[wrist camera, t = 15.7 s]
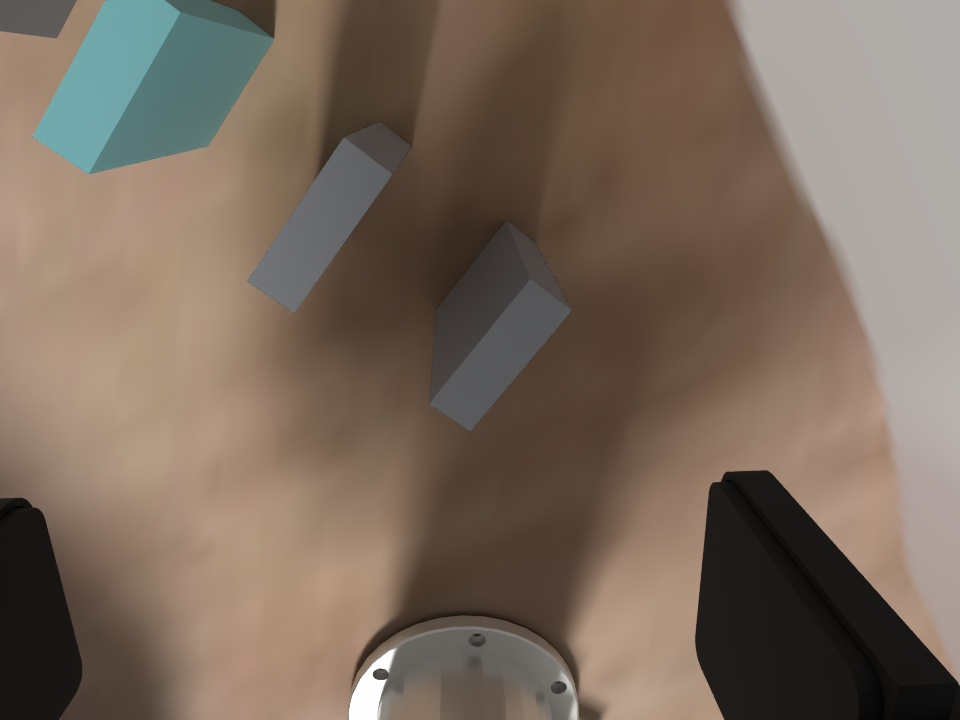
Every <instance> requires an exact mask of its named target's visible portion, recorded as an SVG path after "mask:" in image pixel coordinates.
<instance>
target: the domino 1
mask: <svg viewBox="0 0 960 720" xmlns="http://www.w3.org/2000/svg"><path fill="white" fill-rule="evenodd" d="M273 40H274V38H273V37H271V36H270V35H269V34H267V33H266V32H265V31H264V30H262V29H261V28H260V27H258V26H257V25H256V24H255V23H253V22H252V21H251V20H249V19H248V18H247V17H246V16H244V15H243V14H242V13H240V12H239V11H238V10H235V9H233V8H230V7H227V6H224V5H222V4H219V3H216V2H213V1H211V0H105V2H104V4H103V5H102V7H101V9H100V11H99V13H98V15H97V17H96V19H95V20H94V22H93V24H92V26H91V28H90V30H89V32H88V34H87V35H86V37H85V39H84V41H83V43H82V45H81V47H80V48H79V50H78V52H77V54H76V56H75V58H74V60H73V62H72V63H71V65H70V67H69V69H68V71H67V73H66V75H65V77H64V78H63V80H62V82H61V84H60V86H59V88H58V90H57V92H56V93H55V95H54V97H53V99H52V101H51V103H50V105H49V106H48V108H47V110H46V112H45V114H44V116H43V118H42V120H41V121H40V123H39V125H38V127H37V129H36V131H35V133H34V135H33V136H32V137H34V138H35V139H37V140H38V141H40V142H41V143H43V144H44V145H46V146H47V147H49V148H50V149H52V150H53V151H55V152H56V153H58V154H59V155H61V156H62V157H63V158H65V159H66V160H68V161H69V162H71V163H72V164H74V165H75V166H77V167H78V168H80V169H81V170H83V171H84V172H86V173H87V174H92V173H96V172H100V171H105V170H109V169H113V168H117V167H122V166H126V165H130V164H134V163H139V162H143V161H147V160H152V159H156V158H160V157H164V156H169V155H173V154H177V153H181V152H186V151H190V150H194V149H199V148H203V147H207V146H208V145H209V144H210V142H211V141H212V139H213V137H214V136H215V134H216V132H217V131H218V129H219V128H220V126H221V124H222V123H223V121H224V119H225V118H226V116H227V115H228V113H229V111H230V110H231V108H232V106H233V105H234V103H235V102H236V100H237V98H238V97H239V95H240V94H241V92H242V90H243V89H244V87H245V85H246V84H247V82H248V81H249V79H250V77H251V76H252V74H253V72H254V71H255V69H256V68H257V66H258V64H259V63H260V61H261V59H262V58H263V56H264V55H265V53H266V51H267V50H268V48H269V46H270V45H271V43H272V42H273Z"/></svg>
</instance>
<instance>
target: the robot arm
mask: <svg viewBox="0 0 960 720" xmlns="http://www.w3.org/2000/svg"><path fill="white" fill-rule="evenodd" d="M695 644H696V652H697V657H698V661H699V664H700V666H701V669H702V671H703V673H704V675H705V678H706V680H707V682H708V684H709V686H710V689H711V691H712V693H713V695H714V698H715V700H716V702H717V704H718V707H719V709H720V711H721V713H722V715H723V718H724V720H960V685H959V684H958V682H957V681H956V680H955V678H954V677H953V676H952V675H951V674H950V673H949V672H948V671H947V669H946V668H945V667H944V666H943V665H942V664H941V663H940V662H939V661H938V659H937V658H936V657H935V656H934V655H933V654H932V653H931V652H930V650H929V649H928V648H927V647H926V646H925V645H924V644H923V643H922V641H921V640H920V639H919V638H918V637H917V636H916V635H915V634H914V632H913V631H912V630H911V629H910V628H909V627H908V626H907V625H906V624H905V622H904V621H903V620H902V619H901V618H900V617H899V616H898V615H897V613H896V612H895V611H894V610H893V609H892V608H891V607H890V606H889V604H888V603H887V602H886V601H885V600H884V599H883V598H882V597H881V595H880V594H879V593H878V592H877V591H876V590H875V589H874V588H873V587H872V585H871V584H870V583H869V582H868V581H867V580H866V579H865V578H864V576H863V575H862V574H861V573H860V572H859V571H858V570H857V569H856V567H855V566H854V565H853V564H852V563H851V562H850V561H849V560H848V558H847V557H846V556H845V555H844V554H843V553H842V552H841V551H840V550H839V548H838V547H837V546H836V545H835V544H834V543H833V542H832V541H831V539H830V538H829V537H828V536H827V535H826V534H825V533H824V532H823V530H822V529H821V528H820V527H819V526H818V525H817V524H816V523H815V521H814V520H813V519H812V518H811V517H810V516H809V515H808V514H807V513H806V511H805V510H804V509H803V508H802V507H801V506H800V505H799V504H798V502H797V501H796V500H795V499H794V498H793V497H792V496H791V495H790V493H789V492H788V491H787V490H786V489H785V488H784V487H783V486H782V484H781V483H780V482H779V481H778V480H777V479H776V478H775V477H774V476H773V474H772V473H770V472H769V471H766V470H762V471H735V472H726V473H725V474H724V475H723V478H722V480H721V482H713V483H712V484H711V487H710V490H709V498H708V508H707V519H706V529H705V540H704V550H703V561H702V571H701V582H700V592H699V603H698V613H697V624H696V635H695ZM81 678H82V661H81V657H80V653H79V649H78V645H77V642H76V638H75V634H74V630H73V626H72V622H71V618H70V614H69V610H68V606H67V603H66V599H65V595H64V591H63V587H62V583H61V579H60V575H59V571H58V568H57V564H56V560H55V556H54V552H53V548H52V544H51V540H50V536H49V533H48V529H47V525H46V521H45V518H44V515H43V513H42V512H41V511H40V509H37V508H32V505H31V504H30V503H29V502H28V501H27V500H26V499H23V498H3V499H0V720H59V718H60V717H61V715H62V714H63V712H64V711H65V709H66V708H67V706H68V705H69V703H70V702H71V700H72V699H73V697H74V695H75V694H76V692H77V690H78V688H79V685H80V682H81ZM578 718H579V712H578V697H577V692H576V687H575V683H574V680H573V677H572V675H571V672H570V670H569V667H568V665H567V664H566V663H565V661H564V660H563V658H562V657H561V656H560V654H559V653H558V652H557V651H556V650H555V649H554V648H553V647H552V646H551V645H550V644H549V643H548V642H546V641H545V640H544V639H543V638H541V637H540V636H538V635H536V634H535V633H533V632H531V631H530V630H528V629H526V628H524V627H521V626H518V625H516V624H513V623H511V622H508V621H505V620H500V619H495V618H490V617H485V616H463V615H461V616H452V617H443V618H437V619H433V620H429V621H426V622H422V623H418V624H416V625H413V626H411V627H409V628H407V629H405V630H402V631H400V632H398V633H396V634H395V635H393V636H392V637H390V638H389V639H388V640H386V641H385V642H383V643H382V644H380V645H379V646H378V647H377V648H376V649H375V650H374V651H373V652H372V653H371V654H370V655H369V656H368V657H367V658H366V660H365V662H364V663H363V665H362V666H361V668H360V669H359V671H358V673H357V674H356V677H355V680H354V683H353V686H352V689H351V694H350V700H349V706H348V720H578Z"/></svg>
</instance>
